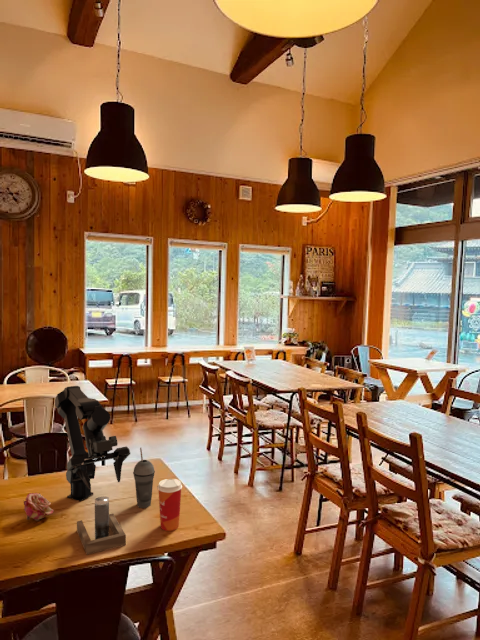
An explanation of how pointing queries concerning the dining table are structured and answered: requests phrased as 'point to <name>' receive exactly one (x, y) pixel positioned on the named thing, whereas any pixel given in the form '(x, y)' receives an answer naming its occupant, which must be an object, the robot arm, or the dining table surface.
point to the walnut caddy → (105, 542)
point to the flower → (37, 506)
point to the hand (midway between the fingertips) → (104, 485)
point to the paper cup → (169, 503)
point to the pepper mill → (101, 517)
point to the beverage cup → (143, 482)
